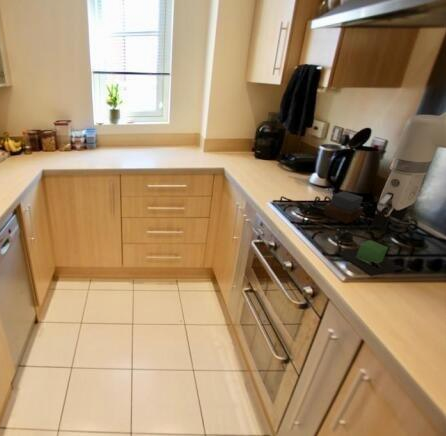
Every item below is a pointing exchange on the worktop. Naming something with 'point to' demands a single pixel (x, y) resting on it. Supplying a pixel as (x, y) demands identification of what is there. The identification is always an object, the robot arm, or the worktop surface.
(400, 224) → the salt shaker
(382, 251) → the green cube
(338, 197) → the middle block
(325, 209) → the base block
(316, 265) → the worktop surface
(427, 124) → the robot arm
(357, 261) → the mat
